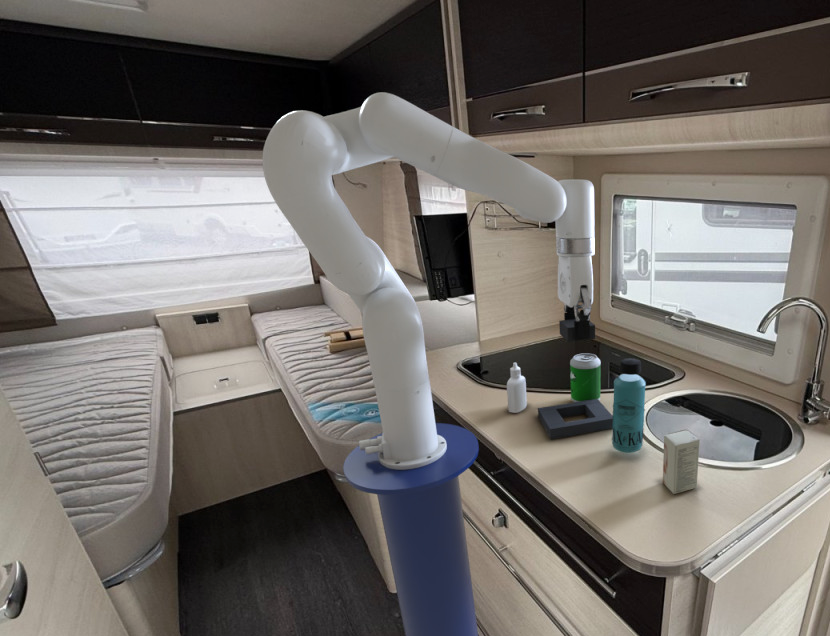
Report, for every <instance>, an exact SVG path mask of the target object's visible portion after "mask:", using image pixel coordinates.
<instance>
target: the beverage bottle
mask: <svg viewBox="0 0 830 636" xmlns="http://www.w3.org/2000/svg"><path fill="white" fill-rule="evenodd" d="M619 372H620V375H618V376H617V377H616V378H615V379H614V381H613V402H612V405H611V407H612V411H611V412H612V413H611V414H612V416H613V419H612V420H613V423H612V426H613V428H612V433H611V444H612V447H613V449H614V450H616V451H618V452H620V453H624V454H625V453H627V454H630V453H631V454H632V453H635V452H638V451H640V450H641V449H642V447H643V443H644V438H645V436H644V432H645V411H646V409H645V404H646V403H645V402H646V400H645V399H646V386H647V382H646V380H645V379H644V378H643V377H642V376H640V375H639V374H640V373H641V372H642V363H641V360H639V359H638V358H637V359H636V358H633V357H632V358H623V359H621V360H620V362H619Z"/></svg>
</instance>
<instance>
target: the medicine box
mask: <svg viewBox="0 0 830 636" xmlns="http://www.w3.org/2000/svg"><path fill="white" fill-rule="evenodd" d="M700 443H701V439H700V437H697V435H695V434H694V433H693V432H692V431H690V430H689V429H687V428H686V429H682V430H681V429H680V430H677V431H673V432H669V433H666V434H663V460H662V461H663V462H662V463H663V464H662V466H663V467H662V483H663V484H664V485H665V486H666V487H667V489H668V490H669V491H670V492H671V493H672V494H673V495H675V494H676V495H677V494H679V493H683V492H686V491H690V490H693V489H696V488H697V487H698V476H699V475H698V474H699V473H698V472H699V461H700Z"/></svg>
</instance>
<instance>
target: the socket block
mask: <svg viewBox="0 0 830 636" xmlns="http://www.w3.org/2000/svg"><path fill="white" fill-rule="evenodd" d="M580 415H586V416H587V418H583V419H576V420H571V421H570V420H569V421H565V420H564V418H567V417H572V416H580ZM612 415H613V413H611V412H610V411H609V410H608V408H606V406H605V405H603V403H602V402H601V401H600V400H598V399H593V400H586V401H580V402H573V401H572V402H568V403H562V404H561V403H560V404H555V405H549V406H542V407H537V417H538V420H539V422H540V424H541V425H542V427H543V428H544V430H545V432H546V434H547V435H548V437H549V439H550V440H555V439H561V438H567V437H571V436H578V435H583V434H589V433H594V432H600V431H605V430H610V429H611V430H612V429H613V426H612V423H613V420H612V419H613V416H612Z"/></svg>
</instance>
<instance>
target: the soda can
mask: <svg viewBox="0 0 830 636" xmlns="http://www.w3.org/2000/svg"><path fill="white" fill-rule="evenodd" d="M601 363H602V362H601V359H600V358H599V357H598V356H597V355H596V354H594V353H587V352H586V353H584V352H583V353H579V354H575V355H573V357H572V358H571V359H570V362H569V365H570V366H569V367H570V368H569V373H570V400H571V401H572V403H573V402H580V401H586V400H593V399H598V400H599V401H600V400H601V365H602V364H601Z"/></svg>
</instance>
